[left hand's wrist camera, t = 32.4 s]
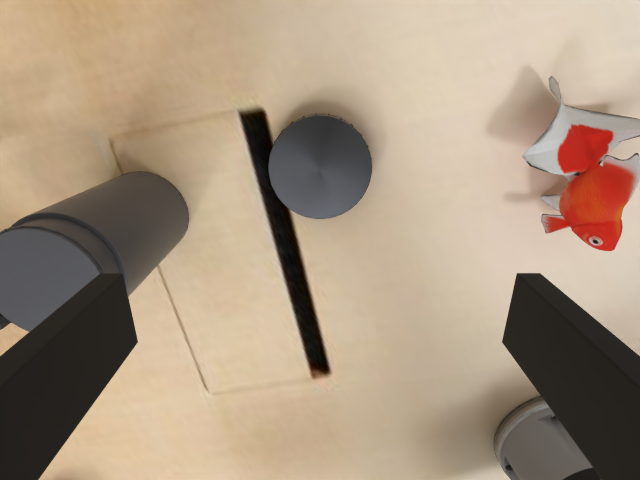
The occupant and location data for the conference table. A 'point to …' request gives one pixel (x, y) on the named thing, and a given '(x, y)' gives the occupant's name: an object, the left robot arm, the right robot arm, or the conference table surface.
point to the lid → (320, 166)
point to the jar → (88, 243)
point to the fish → (587, 171)
